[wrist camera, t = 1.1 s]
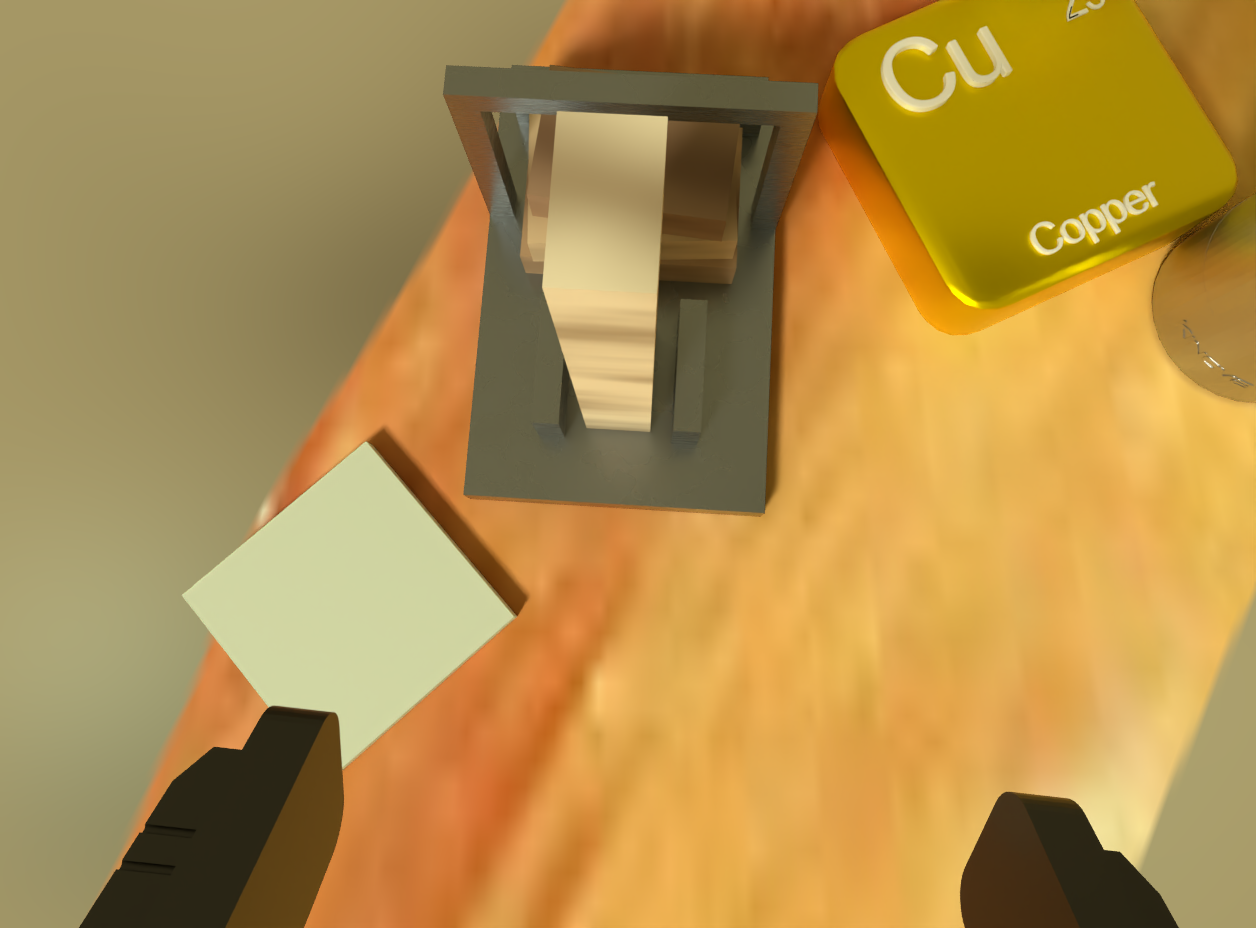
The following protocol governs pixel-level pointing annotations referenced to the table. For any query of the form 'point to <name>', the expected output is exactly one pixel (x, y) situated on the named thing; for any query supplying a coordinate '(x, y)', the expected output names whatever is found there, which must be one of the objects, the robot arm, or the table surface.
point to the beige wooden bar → (607, 260)
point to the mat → (350, 602)
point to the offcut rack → (686, 316)
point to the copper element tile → (1019, 149)
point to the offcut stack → (691, 204)
